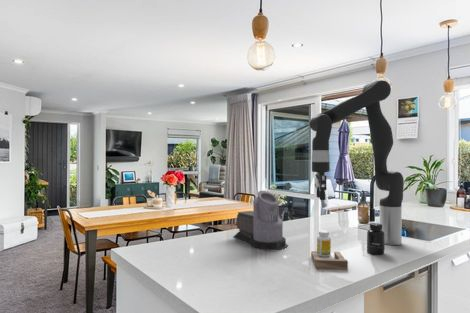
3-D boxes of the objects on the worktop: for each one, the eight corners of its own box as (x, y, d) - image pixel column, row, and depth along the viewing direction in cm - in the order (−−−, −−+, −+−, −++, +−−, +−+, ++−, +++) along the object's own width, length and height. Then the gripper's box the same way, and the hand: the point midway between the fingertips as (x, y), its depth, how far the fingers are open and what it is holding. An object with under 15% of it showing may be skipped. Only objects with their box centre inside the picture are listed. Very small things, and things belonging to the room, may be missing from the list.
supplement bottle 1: (314, 254, 132) (314, 231, 132) (320, 252, 136) (320, 229, 136) (326, 257, 128) (326, 233, 128) (332, 254, 132) (332, 231, 132)
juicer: (295, 247, 143) (295, 192, 143) (267, 253, 135) (266, 194, 135) (255, 233, 168) (255, 187, 169) (229, 238, 160) (229, 188, 160)
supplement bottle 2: (374, 255, 130) (374, 226, 130) (363, 251, 137) (363, 222, 137) (388, 254, 132) (388, 225, 132) (377, 249, 139) (376, 222, 139)
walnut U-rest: (311, 257, 129) (311, 249, 129) (339, 258, 127) (339, 250, 127) (316, 268, 115) (316, 260, 115) (347, 269, 114) (347, 261, 114)
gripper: (332, 161, 132) (332, 201, 132) (326, 160, 146) (326, 196, 146) (314, 161, 133) (314, 200, 133) (309, 160, 147) (309, 196, 147)
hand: (320, 198), depth 140 cm, fingers open, 7 cm apart
